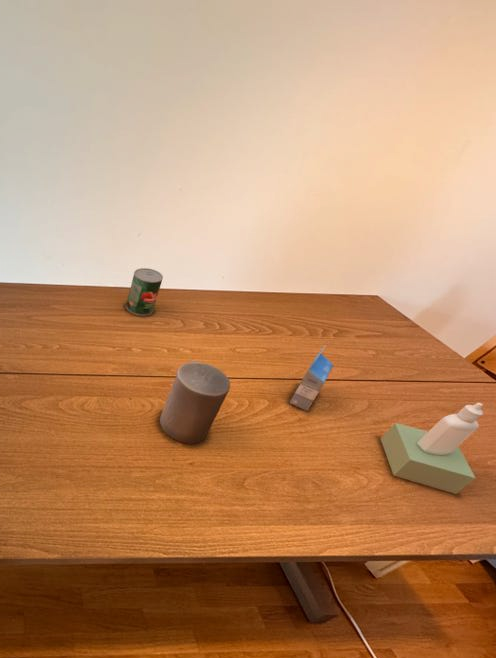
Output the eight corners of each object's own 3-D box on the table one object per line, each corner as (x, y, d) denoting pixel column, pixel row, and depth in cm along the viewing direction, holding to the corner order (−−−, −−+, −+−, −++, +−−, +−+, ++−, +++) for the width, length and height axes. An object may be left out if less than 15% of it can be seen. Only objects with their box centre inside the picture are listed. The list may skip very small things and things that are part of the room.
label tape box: (306, 411, 93) (336, 369, 85) (287, 402, 95) (314, 360, 87) (316, 392, 98) (345, 351, 90) (298, 384, 100) (324, 343, 92)
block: (437, 454, 85) (454, 438, 82) (456, 494, 78) (476, 478, 75) (380, 438, 88) (395, 422, 85) (393, 475, 81) (410, 459, 77)
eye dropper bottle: (454, 462, 77) (505, 418, 70) (417, 450, 79) (463, 405, 72) (448, 446, 80) (496, 401, 73) (413, 435, 82) (456, 390, 75)
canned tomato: (147, 319, 119) (157, 284, 112) (121, 309, 122) (129, 275, 115) (156, 307, 125) (166, 273, 118) (131, 298, 128) (140, 265, 121)
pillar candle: (215, 442, 85) (244, 388, 76) (171, 446, 84) (194, 392, 74) (192, 407, 92) (216, 354, 83) (151, 411, 91) (170, 357, 81)
